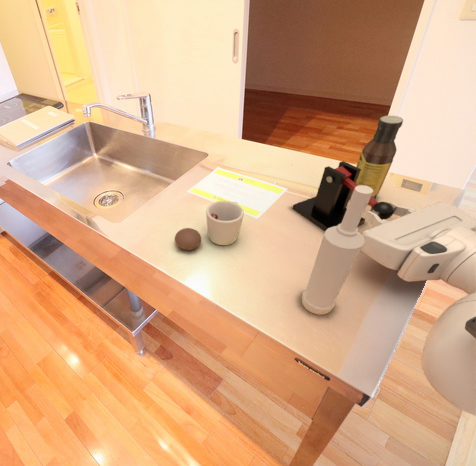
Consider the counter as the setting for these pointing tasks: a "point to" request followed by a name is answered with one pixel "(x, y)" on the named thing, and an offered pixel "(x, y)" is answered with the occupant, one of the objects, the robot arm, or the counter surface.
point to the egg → (188, 238)
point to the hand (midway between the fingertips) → (376, 209)
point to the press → (329, 198)
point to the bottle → (336, 256)
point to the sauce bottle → (378, 154)
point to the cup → (224, 221)
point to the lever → (381, 207)
